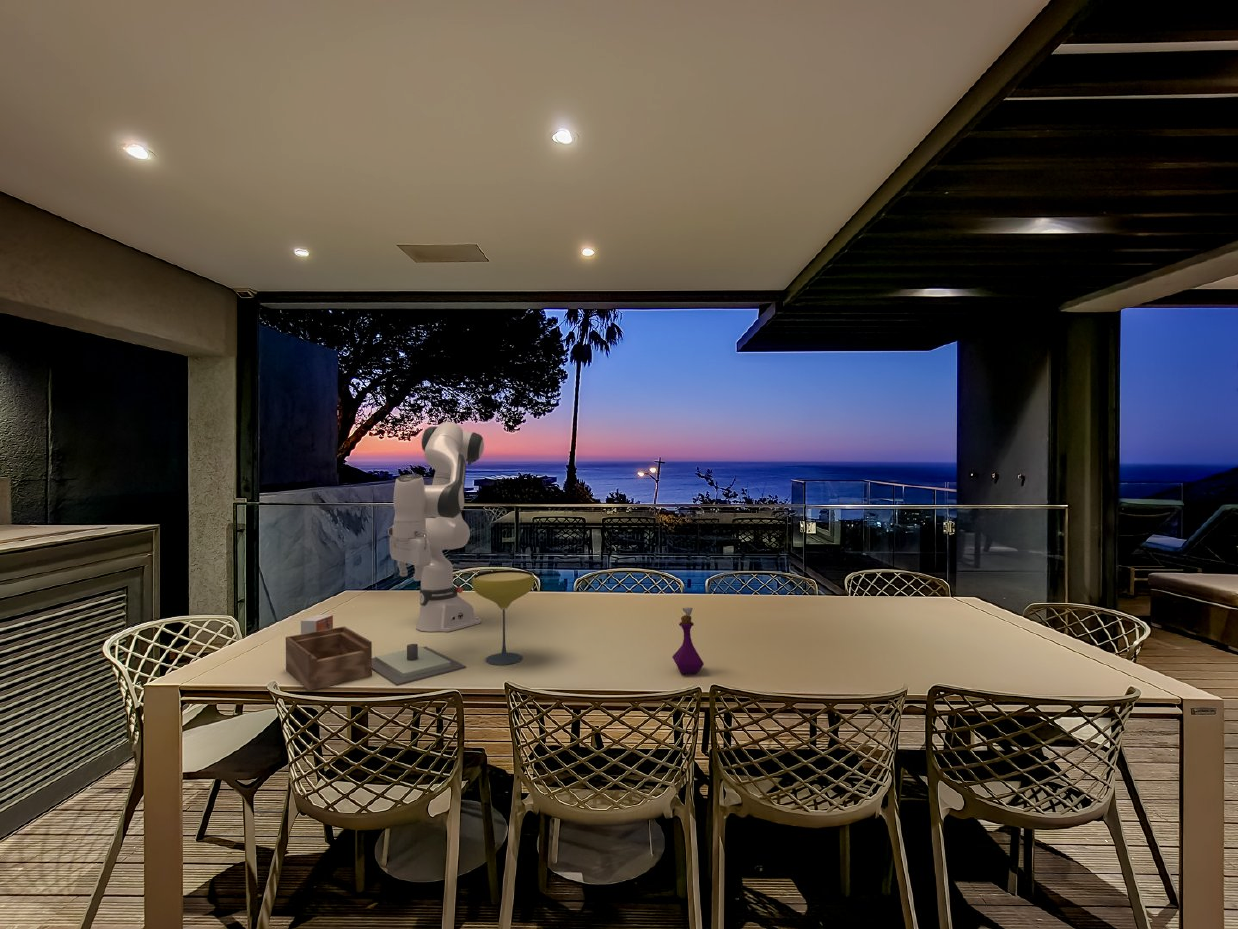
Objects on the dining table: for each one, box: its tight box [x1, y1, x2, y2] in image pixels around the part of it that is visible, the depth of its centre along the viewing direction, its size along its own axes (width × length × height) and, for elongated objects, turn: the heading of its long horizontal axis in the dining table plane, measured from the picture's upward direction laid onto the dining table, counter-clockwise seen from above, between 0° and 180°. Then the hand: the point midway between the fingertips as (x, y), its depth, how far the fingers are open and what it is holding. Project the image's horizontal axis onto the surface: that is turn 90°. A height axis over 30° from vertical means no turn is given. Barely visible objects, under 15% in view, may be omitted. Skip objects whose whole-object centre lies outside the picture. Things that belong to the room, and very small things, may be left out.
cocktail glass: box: [471, 569, 535, 666], centre depth 179 cm, size 18×18×25 cm
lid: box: [374, 643, 451, 678], centre depth 174 cm, size 14×20×5 cm
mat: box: [372, 646, 467, 687], centre depth 174 cm, size 20×26×1 cm
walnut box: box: [285, 626, 373, 692], centre depth 168 cm, size 16×22×9 cm
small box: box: [300, 614, 334, 634], centre depth 188 cm, size 8×6×10 cm
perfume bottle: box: [672, 607, 705, 676], centre depth 166 cm, size 8×8×18 cm
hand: (410, 578), depth 174 cm, fingers open, 8 cm apart
